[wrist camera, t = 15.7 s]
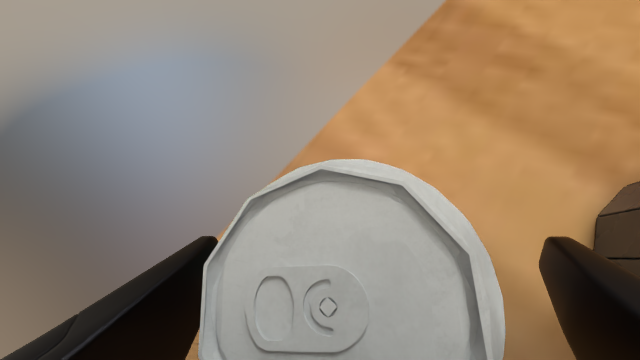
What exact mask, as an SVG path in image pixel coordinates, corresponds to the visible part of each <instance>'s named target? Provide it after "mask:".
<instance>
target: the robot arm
mask: <svg viewBox="0 0 640 360" xmlns="http://www.w3.org/2000/svg"><path fill="white" fill-rule="evenodd" d="M217 244H218V240H217V239H216V238H215V237H213V236H202V237H200V238H198V239H197V240H195V241H193V242H192V243H190V244H189V245H187V246H185V247H184V248H182V249H181V250H179V251H177V252H176V253H174V254H173V255H171V256H169V257H168V258H166V259H165V260H163V261H161V262H160V263H158V264H156V265H155V266H153V267H152V268H150V269H148V270H147V271H145V272H144V273H142V274H140V275H139V276H137V277H136V278H134V279H132V280H131V281H129V282H128V283H126V284H124V285H123V286H121V287H120V288H118V289H116V290H115V291H113V292H111V293H110V294H108V295H107V296H105V297H103V298H102V299H100V300H99V301H97V302H95V303H94V304H92V305H91V306H89V307H87V308H86V309H84V310H83V311H81V312H80V313H79V314H76V315H74V316H73V317H71V318H70V319H68V320H66V321H65V322H63V323H62V324H60V325H58V326H57V327H55V328H53V329H52V330H50V331H48V332H47V333H45V334H43V335H42V336H40V337H39V338H37V339H35V340H33V341H32V342H30V343H28V344H26V345H25V346H23V347H22V348H20V349H18V350H16V351H14V352H13V353H11V354H9V355H7V356H6V357H4V358H2V359H0V360H185V359H186V356H187V354H188V352H189V350H190V348H191V345H192V343H193V341H194V339H195V336H196V334H197V332H198V330H199V328H200V317H201V300H202V284H203V267H204V264H205V262H206V261H207V259H208V258H209V256H210V255H211V253H212V252H213V250H214V249H215V247H216V246H217ZM539 269H540V272H541V275H542V277H543V280H544V283H545V286H546V288H547V291H548V294H549V296H550V299H551V302H552V304H553V307H554V310H555V312H556V315H557V318H558V320H559V323H560V325H561V328H562V330H563V333H564V335H565V337H566V339H567V341H568V343H569V345H570V347H571V349H572V351H573V353H574V355H575V357H576V359H577V360H640V277H639V276H637V275H635V274H634V273H632V272H630V271H628V270H626V269H625V268H623V267H621V266H619V265H618V264H616V263H614V262H612V261H611V260H609V259H607V258H605V257H603V256H602V255H600V254H598V253H596V252H595V251H593V250H591V249H589V248H588V247H586V246H584V245H582V244H580V243H579V242H577V241H575V240H573V239H571V238H569V237H548V238H547V239H546V240H545V242H544V246H543V249H542V253H541V256H540V260H539Z"/></svg>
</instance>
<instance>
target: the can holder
mask: <svg viewBox="0 0 640 360" xmlns="http://www.w3.org/2000/svg"><path fill="white" fill-rule="evenodd" d="M598 216H599V217H598V218H597V224H596V237H595V252H596V253H598V254H600V255H602V256H603V257H605V258H607V259H609V260H611V261H612V262H614V263H616V264H618V265H619V266H621V267H623V268H625V269H626V270H628V271H630V272H632V273H634V274H635V275H637V276H639V277H640V182H636V183H633V184H630V185H627V186H626V187H624V188H623V189H622V190H621V191H620V192H619V193H618V194H617V195H616V196H615V198H614V199H613V200H612V201H611V202H610V203H609V204H608V205H607V206H606V207H605V208H604V209H603V211H602V212H601V213H600V214H599V215H598Z"/></svg>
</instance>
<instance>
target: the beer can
mask: <svg viewBox="0 0 640 360" xmlns="http://www.w3.org/2000/svg"><path fill="white" fill-rule="evenodd" d="M505 334H506V330H505V318H504V306H503V297H502V293H501V290H500V287H499V284H498V280H497V277H496V274H495V271H494V268H493V264H492V261H491V258H490V256H489V254H488V253H487V251H486V249H485V247H484V245H483V244H482V242H481V240H480V239H479V237H478V235H477V234H476V232H475V230H474V229H473V227H472V225H471V224H470V222H469V221H468V220H467V219H466V218H465V216H464V215H463V214H462V213H461V212H460V211H459V210H458V209H457V208H456V207H455V206H454V205H453V204H452V203H451V202H450V201H448V200H447V199H446V198H445V197H444V196H443V195H442V194H441V193H440V192H439V191H438V190H437V189H436V188H434V187H433V186H431V185H429V184H428V183H426V182H424V181H422V180H421V179H419V178H417V177H416V176H414V175H412V174H410V173H408V172H406V171H405V170H402V169H399V168H396V167H393V166H390V165H387V164H383V163H378V162H374V161H370V160H363V159H332V160H327V161H323V162H319V163H315V164H311V165H307V166H303V167H299V168H297V169H295V170H294V171H292V172H290V173H288V174H286V175H284V176H283V177H281V178H279V179H278V180H276V181H274V182H272V183H271V184H269V185H268V186H266V187H265V188H263V189H262V190H261V191H259V192H258V193H256V194H254V195H251V196H249V197H248V199H247V200H246V202H245V203H244V205H243V206H242V208H241V209H240V211H239V212H238V214H237V215H236V217H235V218H234V220H233V221H232V223H231V224H230V226H229V227H228V229H227V230H226V232H225V233H224V235H223V236H222V238H221V239H220V241H219V243H218V244H217V246H216V247H215V249H214V250H213V252H212V253H211V255H210V256H209V258H208V259H207V261H206V262H205V264H204V267H203V284H202V300H201V317H200V333H199V350H198V357H199V359H200V360H502V359H503V354H504V344H505Z"/></svg>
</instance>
